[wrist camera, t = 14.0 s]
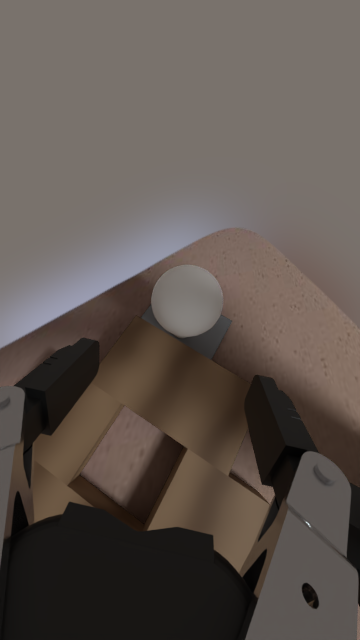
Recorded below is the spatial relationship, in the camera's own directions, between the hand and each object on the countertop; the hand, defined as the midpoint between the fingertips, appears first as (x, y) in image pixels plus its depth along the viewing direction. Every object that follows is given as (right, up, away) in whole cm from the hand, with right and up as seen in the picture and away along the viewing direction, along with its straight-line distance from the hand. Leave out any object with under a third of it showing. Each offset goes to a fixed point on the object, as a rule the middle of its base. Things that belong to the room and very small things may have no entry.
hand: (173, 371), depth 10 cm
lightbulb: (0, +1, +15) cm, 15 cm away
